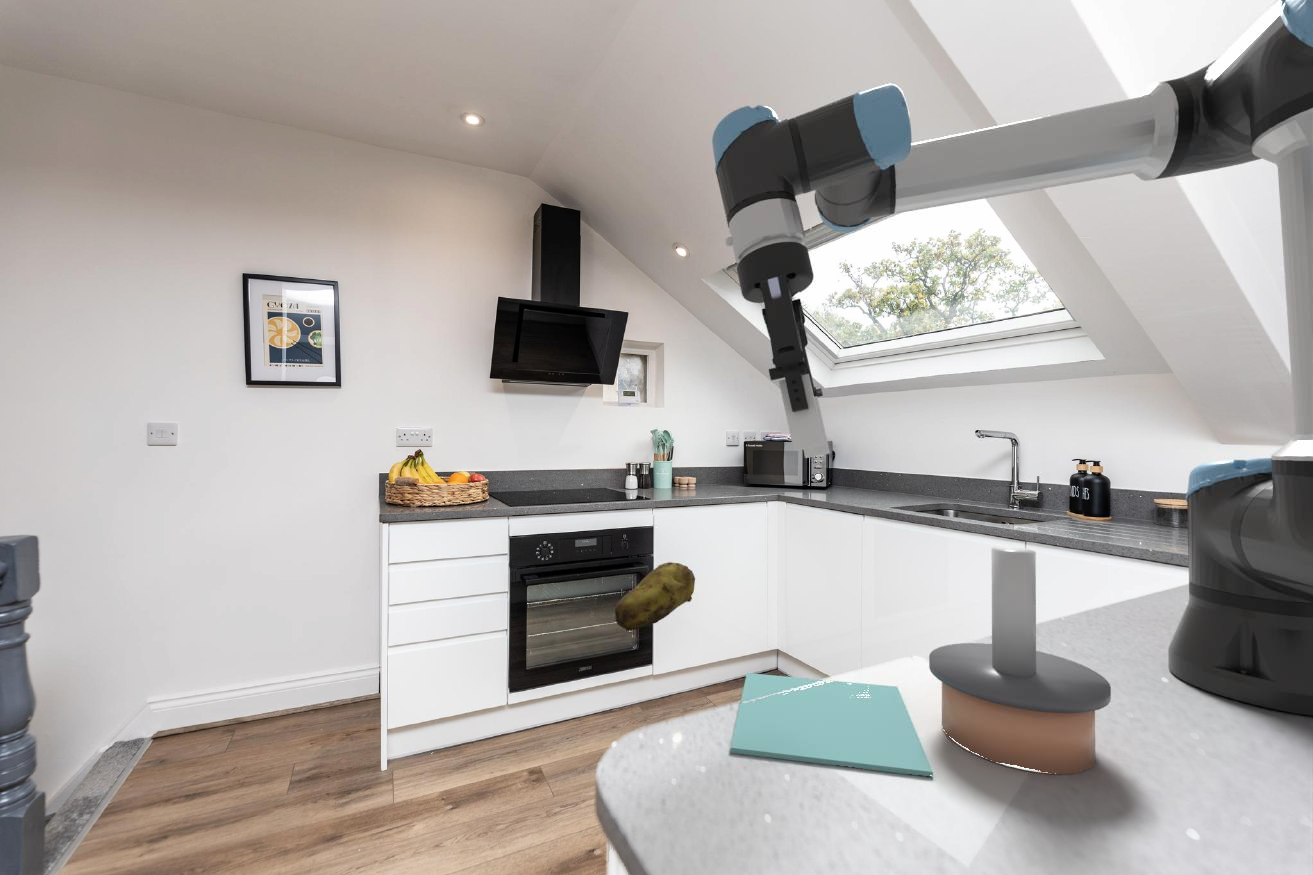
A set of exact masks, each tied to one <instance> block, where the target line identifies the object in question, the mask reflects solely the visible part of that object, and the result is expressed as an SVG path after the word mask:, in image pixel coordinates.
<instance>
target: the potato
mask: <svg viewBox="0 0 1313 875" xmlns="http://www.w3.org/2000/svg"><path fill="white" fill-rule="evenodd" d="M695 581H696V577H695V574H694V572H693V570H691V569H690V568H689V567H688V566H687V565H684V564H682V563H679V562H672V561H671V562H669V561H668V562H665V563H662V564H659V565H658V566H657V567H656V568H654V569H653V570H652V571H650V572H649V573H647V575H646V576H645V577H643V579H641V581H640V582H639V583H638V584H637V585H636V586H635V587H634V588H632V590H630V591H628V592H627V593H626V594H625V595H623V597H622V598H621V599H620V600H619V601H618V602H617V604H616V605H615V609H614V615H615V618H614V619H615V622H616V624H617V625H618V626H619V627H621V628H623V629H625V630H626V631H634V630H637V629H641V628H642V627H647V626H650V625H653V624H657V623H658V622H660V621H661V620H663V619H664V618H667V617H668V616H669V615H670V614H671V613H672V612H674V611H675V610H676V609H677V608H679V607H680V606H682V605H684V604H685V603H690V602H692V600H693V597H692V596H693V594H694V591H695V583H696V582H695Z"/></svg>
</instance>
